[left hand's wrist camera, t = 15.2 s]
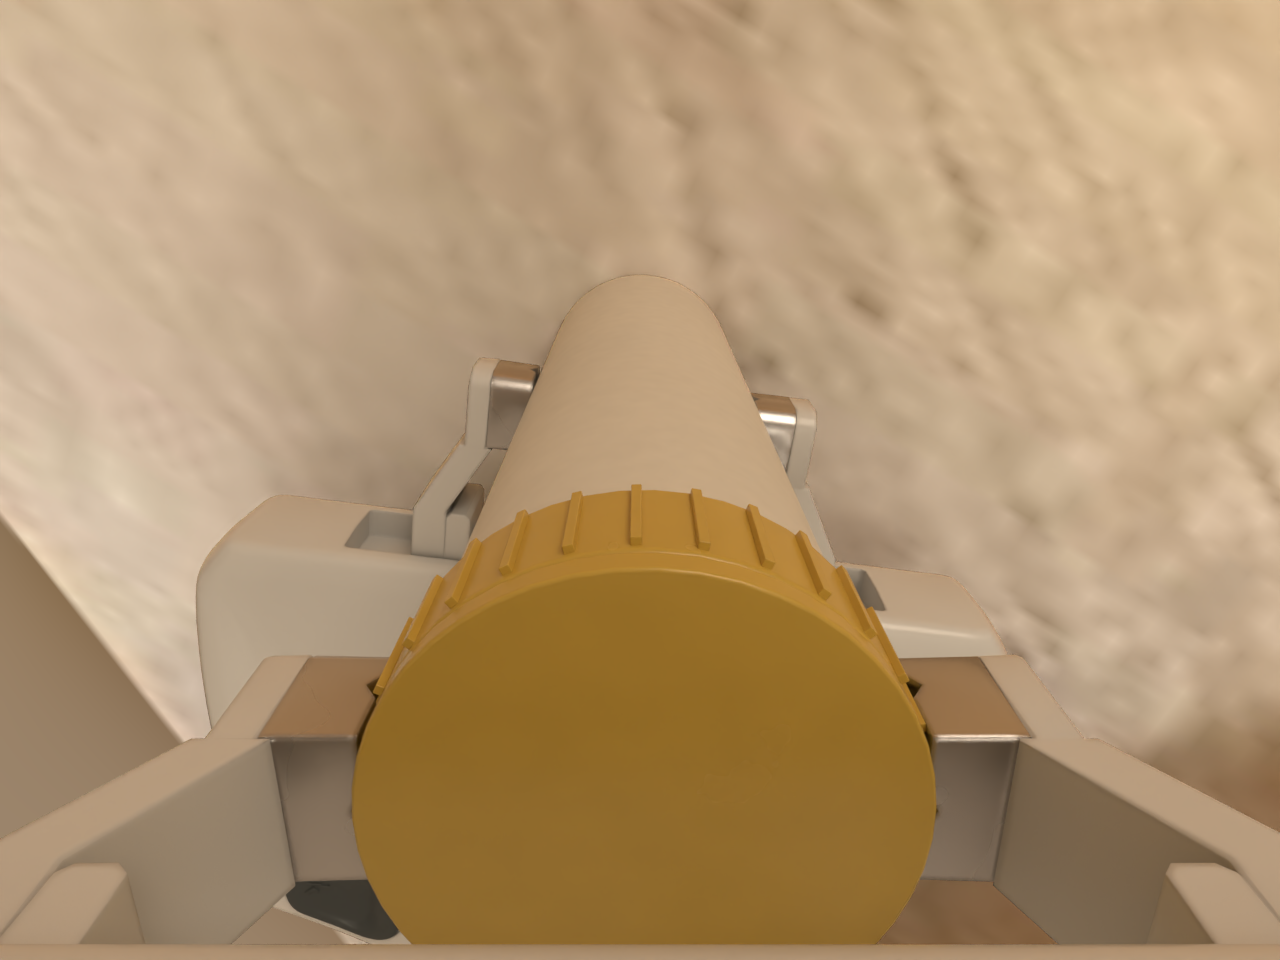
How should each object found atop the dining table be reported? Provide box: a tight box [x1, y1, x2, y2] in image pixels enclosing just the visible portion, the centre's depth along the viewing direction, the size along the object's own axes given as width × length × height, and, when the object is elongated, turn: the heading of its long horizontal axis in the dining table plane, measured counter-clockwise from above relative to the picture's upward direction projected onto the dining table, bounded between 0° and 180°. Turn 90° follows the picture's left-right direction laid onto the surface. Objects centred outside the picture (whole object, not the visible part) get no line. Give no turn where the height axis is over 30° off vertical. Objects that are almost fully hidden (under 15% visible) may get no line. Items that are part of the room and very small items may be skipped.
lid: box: [352, 484, 937, 944], centre depth 9 cm, size 6×6×2 cm
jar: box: [461, 275, 823, 559], centre depth 18 cm, size 5×5×19 cm
